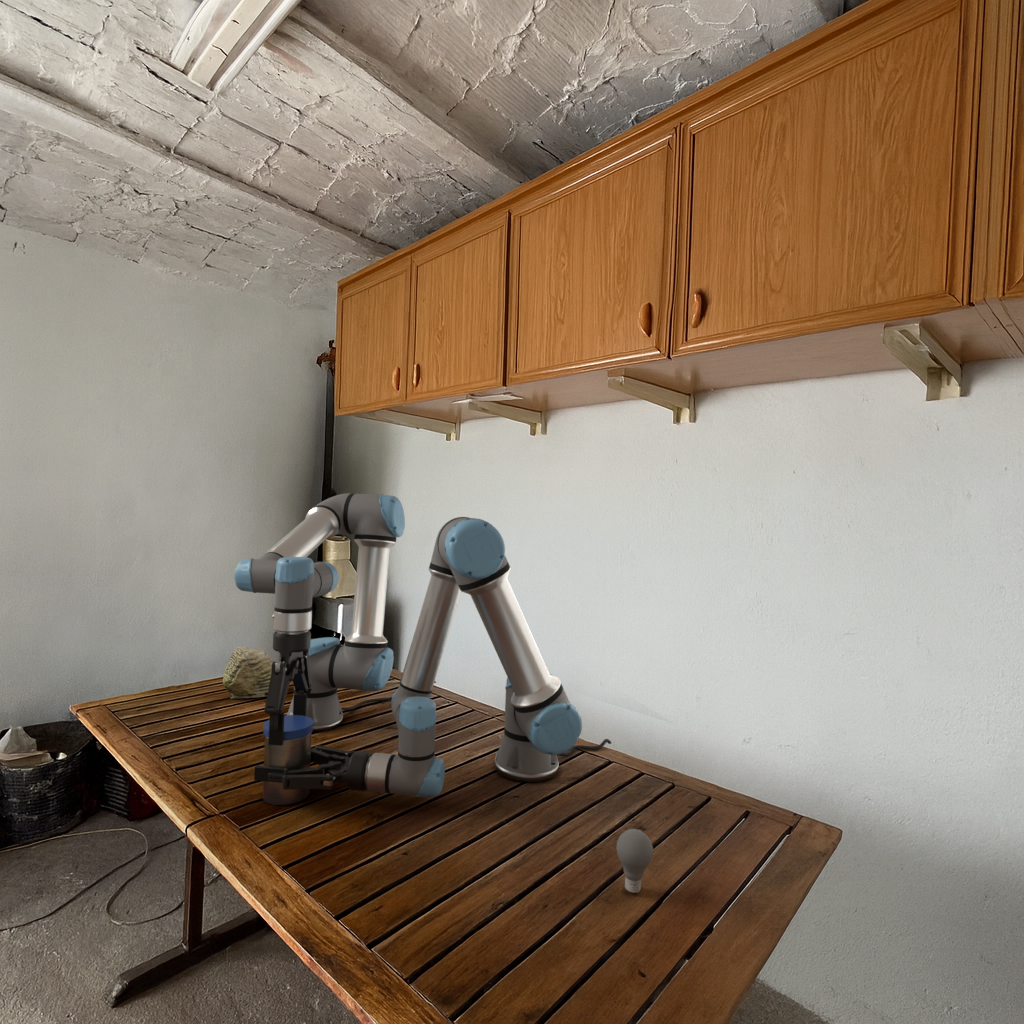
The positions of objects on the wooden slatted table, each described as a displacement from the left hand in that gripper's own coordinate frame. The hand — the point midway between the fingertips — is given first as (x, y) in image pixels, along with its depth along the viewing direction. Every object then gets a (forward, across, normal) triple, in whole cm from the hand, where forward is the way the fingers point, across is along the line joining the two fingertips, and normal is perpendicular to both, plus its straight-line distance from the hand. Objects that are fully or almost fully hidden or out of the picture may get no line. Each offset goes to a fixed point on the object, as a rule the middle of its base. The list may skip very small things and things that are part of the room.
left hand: (288, 733), depth 134 cm
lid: (-2, 0, 0) cm, 2 cm away
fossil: (+13, -62, -36) cm, 73 cm away
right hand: (+7, 0, -4) cm, 8 cm away
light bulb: (+13, +24, +70) cm, 75 cm away
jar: (+13, 0, 0) cm, 13 cm away
